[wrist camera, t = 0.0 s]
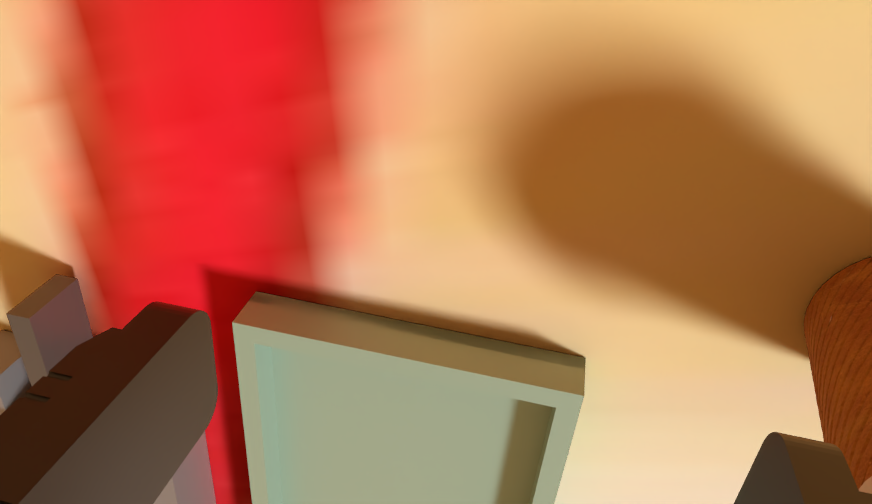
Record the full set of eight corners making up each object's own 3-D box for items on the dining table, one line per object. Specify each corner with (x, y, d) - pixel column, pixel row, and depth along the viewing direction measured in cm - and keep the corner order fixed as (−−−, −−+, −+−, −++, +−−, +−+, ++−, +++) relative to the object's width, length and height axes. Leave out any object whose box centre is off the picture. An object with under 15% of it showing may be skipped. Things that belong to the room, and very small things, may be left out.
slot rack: (2, 330, 38) (-48, 370, 35) (195, 373, 36) (160, 419, 34) (79, 548, 49) (46, 592, 47) (229, 588, 48) (205, 636, 45)
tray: (255, 291, 32) (232, 322, 30) (585, 357, 30) (583, 395, 28) (278, 556, 44) (261, 592, 42) (515, 618, 42) (510, 658, 40)
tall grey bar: (34, 259, 35) (-43, 316, 31) (120, 276, 34) (53, 337, 30) (113, 519, 47) (65, 585, 43) (178, 536, 46) (136, 605, 42)
